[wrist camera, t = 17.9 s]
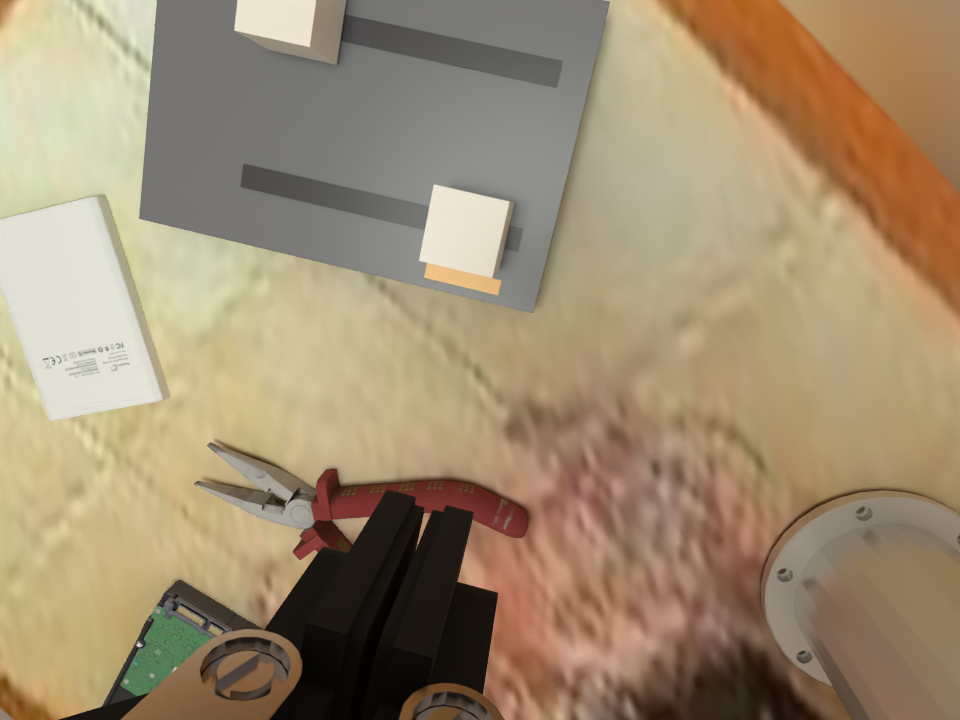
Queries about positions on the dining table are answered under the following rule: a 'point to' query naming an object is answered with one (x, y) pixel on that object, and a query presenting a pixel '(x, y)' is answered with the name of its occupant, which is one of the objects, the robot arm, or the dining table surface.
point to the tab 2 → (466, 231)
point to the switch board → (372, 131)
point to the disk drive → (172, 639)
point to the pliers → (349, 501)
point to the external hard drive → (78, 310)
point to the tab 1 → (293, 26)
